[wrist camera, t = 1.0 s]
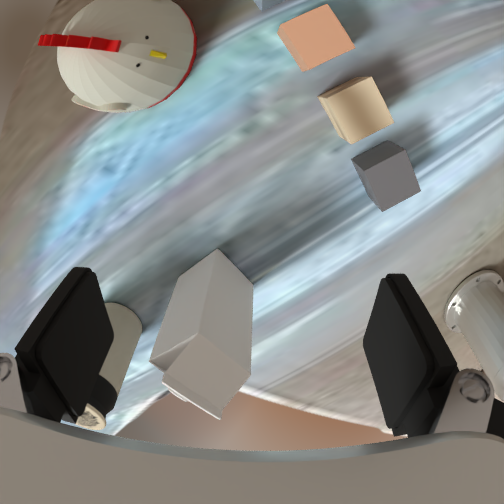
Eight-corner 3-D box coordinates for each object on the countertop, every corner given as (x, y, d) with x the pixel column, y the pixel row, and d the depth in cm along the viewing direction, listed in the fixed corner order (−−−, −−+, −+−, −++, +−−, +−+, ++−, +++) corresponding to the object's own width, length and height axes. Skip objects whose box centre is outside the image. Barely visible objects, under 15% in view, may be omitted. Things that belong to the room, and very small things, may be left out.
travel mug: (152, 327, 46) (119, 426, 31) (123, 345, 49) (88, 434, 33) (115, 292, 43) (64, 388, 28) (88, 314, 46) (41, 401, 30)
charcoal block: (387, 140, 32) (405, 149, 28) (402, 177, 34) (420, 191, 30) (350, 159, 34) (363, 171, 29) (368, 195, 36) (382, 212, 31)
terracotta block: (317, 14, 26) (327, 3, 21) (342, 52, 28) (355, 47, 23) (277, 33, 27) (279, 25, 23) (302, 71, 29) (309, 69, 25)
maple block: (356, 77, 29) (371, 76, 25) (376, 116, 31) (394, 122, 27) (317, 96, 30) (326, 98, 26) (339, 136, 32) (351, 144, 28)
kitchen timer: (174, 123, 32) (119, 152, 19) (71, 100, 30) (-16, 122, 17) (214, 6, 25) (183, -44, 12) (102, -8, 23) (24, -38, 10)
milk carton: (217, 246, 39) (191, 368, 23) (254, 284, 42) (250, 408, 25) (178, 276, 42) (138, 393, 25) (214, 309, 44) (194, 428, 28)
